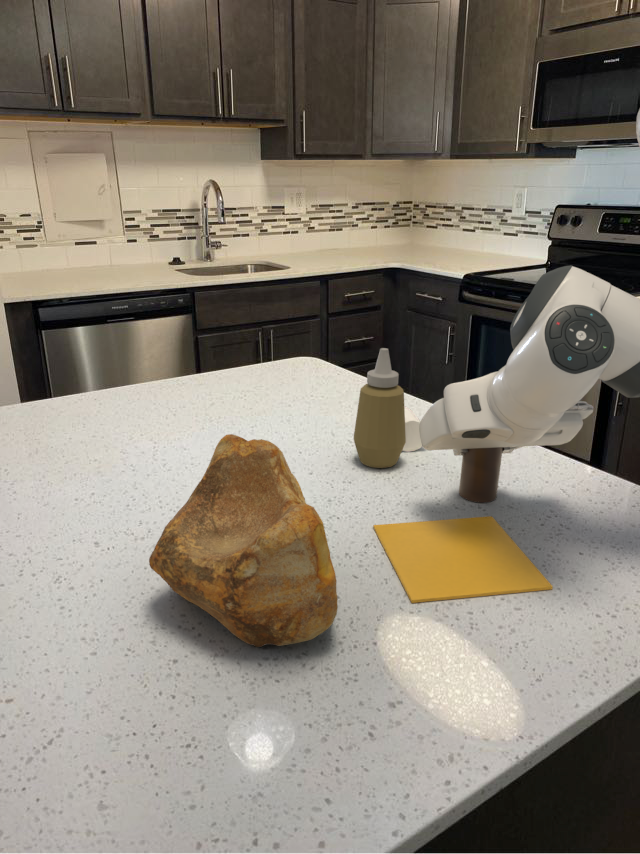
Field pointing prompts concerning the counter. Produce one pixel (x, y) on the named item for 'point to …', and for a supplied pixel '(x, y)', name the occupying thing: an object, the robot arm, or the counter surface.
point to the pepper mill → (480, 474)
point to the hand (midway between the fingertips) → (480, 449)
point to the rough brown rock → (251, 548)
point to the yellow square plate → (457, 559)
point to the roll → (411, 431)
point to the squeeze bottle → (380, 416)
